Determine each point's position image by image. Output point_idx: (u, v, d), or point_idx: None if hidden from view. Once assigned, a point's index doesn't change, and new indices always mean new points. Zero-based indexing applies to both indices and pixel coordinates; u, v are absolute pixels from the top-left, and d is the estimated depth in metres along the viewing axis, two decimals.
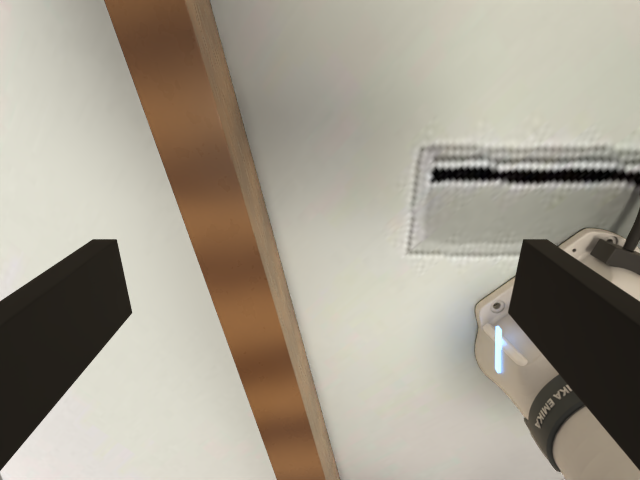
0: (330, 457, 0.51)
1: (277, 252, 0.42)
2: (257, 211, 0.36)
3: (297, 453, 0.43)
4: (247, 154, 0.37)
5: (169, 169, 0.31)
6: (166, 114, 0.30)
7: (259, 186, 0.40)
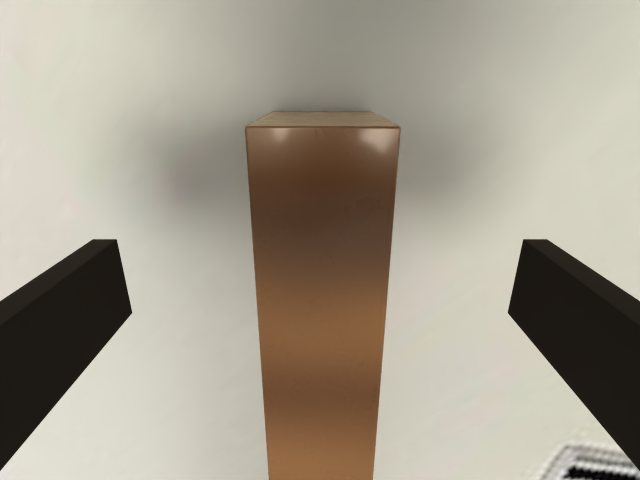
0: None
1: None
2: None
3: None
4: None
5: None
6: (299, 465, 0.20)
7: None
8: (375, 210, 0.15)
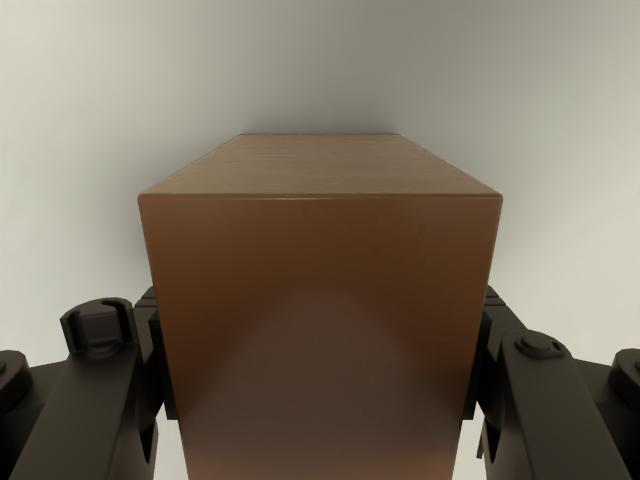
0: None
1: None
2: None
3: None
4: None
5: None
6: None
7: None
8: (435, 363, 0.07)
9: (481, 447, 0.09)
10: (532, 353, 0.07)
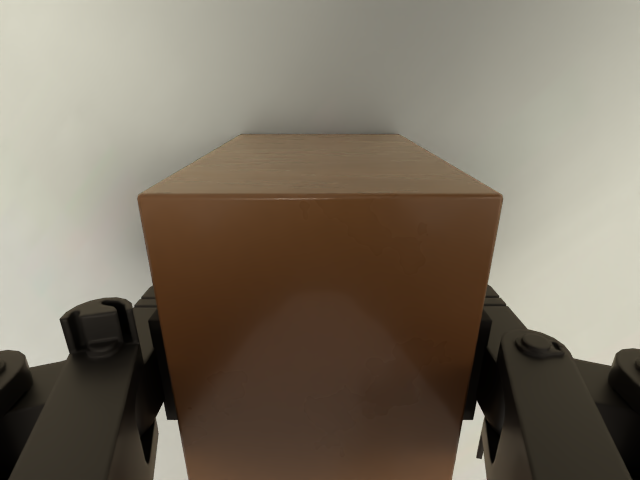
0: None
1: None
2: None
3: None
4: None
5: None
6: None
7: None
8: (435, 363, 0.07)
9: (481, 447, 0.09)
10: (532, 354, 0.07)
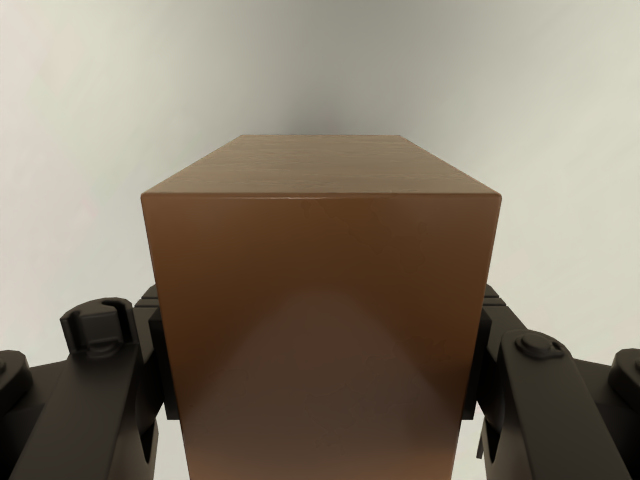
0: None
1: None
2: None
3: None
4: None
5: None
6: None
7: None
8: (435, 362, 0.07)
9: (481, 447, 0.09)
10: (532, 353, 0.07)
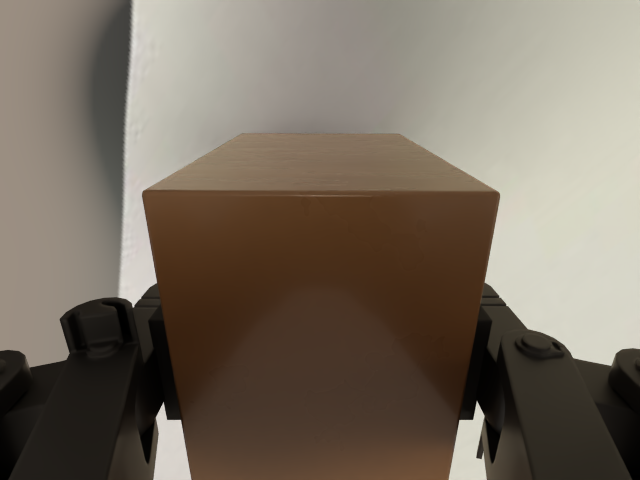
0: None
1: None
2: None
3: None
4: None
5: None
6: None
7: None
8: (433, 358, 0.07)
9: (481, 447, 0.09)
10: (532, 353, 0.07)
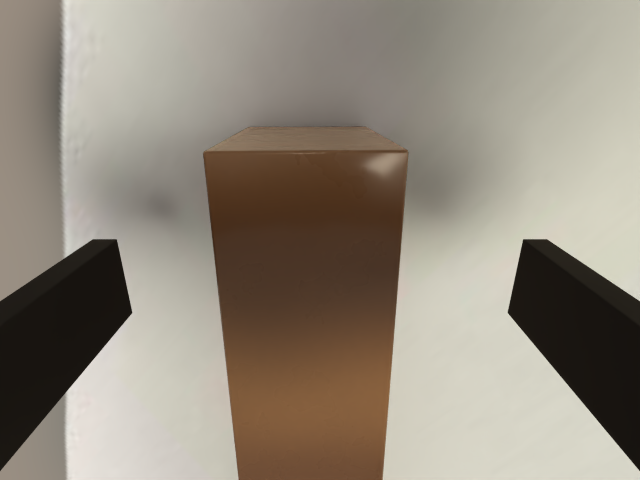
0: None
1: None
2: None
3: None
4: None
5: None
6: None
7: None
8: (377, 256, 0.11)
9: None
10: None
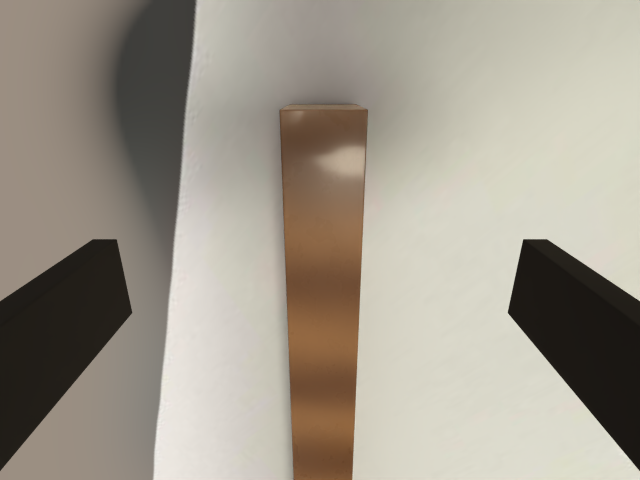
0: None
1: None
2: None
3: None
4: None
5: (294, 377, 0.32)
6: (309, 336, 0.31)
7: None
8: (355, 159, 0.25)
9: None
10: None
